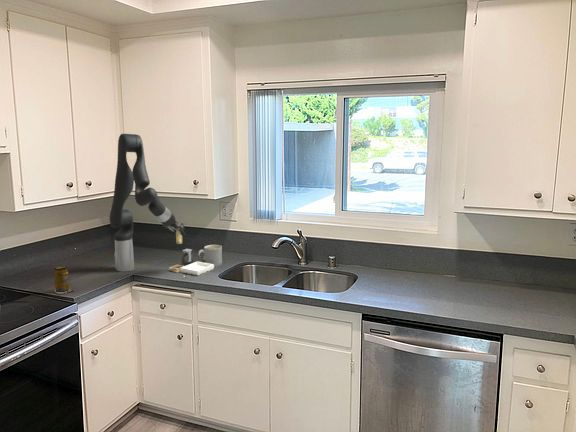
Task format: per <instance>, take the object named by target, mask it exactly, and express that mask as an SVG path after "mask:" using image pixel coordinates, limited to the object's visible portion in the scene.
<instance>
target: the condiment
mask: <svg viewBox="0 0 576 432" xmlns="http://www.w3.org/2000/svg"><path fill="white" fill-rule="evenodd" d="M53 277H54V287H55V289H54V290H56V292H65V291H68V290H69V289H70V280H69V279H70V278H69V272H68V266H66V265H58V266H55V267H54V273H53ZM68 292H69V291H68Z"/></svg>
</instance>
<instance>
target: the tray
mask: <svg viewBox="0 0 576 432" xmlns="http://www.w3.org/2000/svg"><path fill="white" fill-rule="evenodd" d="M214 269H215V266H214V264H209V263H205V262H204V261H197V260H196V261H195V262H194V261H193V263H192V264H189V265H187V266H184V267H181V268H180V272H179V273H181V274H186V273H187V274H188V275H191V274H193V276H196V275H198V276H200V274H201V275H203V274H205V273H208V272H210V271H212V270H214ZM207 271H208V272H207ZM202 273H203V274H202Z"/></svg>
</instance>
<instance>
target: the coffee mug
mask: <svg viewBox="0 0 576 432" xmlns="http://www.w3.org/2000/svg"><path fill="white" fill-rule="evenodd" d="M222 247H223V246H222V245H220V244H209V245H205V246H204V247H203V249H200V250H199V251H198V255H197V256H198V259H200V260H201V261H202V262H203V263H209V264H214V267H217V266H218V267H220V266H221V265H222V264H223V248H222ZM201 254H203V257H202V255H201Z"/></svg>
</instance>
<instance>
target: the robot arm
mask: <svg viewBox="0 0 576 432" xmlns="http://www.w3.org/2000/svg"><path fill="white" fill-rule="evenodd" d="M117 141H118V143H117V166H116V173H115V180H114V191H113V199H112V203H111V207H110V214H109V225H110V226H111V227H112V228H114V229H119V230H118V231H117V232H115V234H114V236H113V238H114V249H115V250H114V253H113V255H114V267H115V268H114V269H115V271H117V272H122V273H123V272H124V273H125V272H130V271H134V269H135V262H134V261H135V259H134V258H135V256H134V245H133V244H134V243H133V235H134V216H133V213H132V211H131V210H129V209H124V206H125V204H126V202H127V200H128V199H129V197H130V196H131V194H132V192H133V189H135V190H134V199H135V201H136V204H137V205H139V206H140V207H144V206H147V205H148V210H149V211H150V212H151V213H152V214H153V216H154V217H155V218H156V220H158V221H159V222H160V224H162V226H163V228H166V229H167V230H168V231H171V232H174V234H176V231H178V232H180V234H181V235H182V237H185V235H186V232H185V229H186V228H185V225H184V223H182V222H181V223H179V222H178V221H177V220H176V217H175V214H173V212H172V211H171V210H170V209H169V208H168V207H167V206H165V205H164V203H163V202H162V201H161V199H160V198H159V195H158V193H157V191H156V189H154V187H149V186H150V182H151V181H150V179H149V175H148V171H147V166H146V159H145V158H146V157H145V151H144V144H143V139H142V137H141V135H139V134H136V133H135V134H133V133H121V134H120V135H119V137H118V140H117ZM127 153H135V155H136V159H135V162H134V164H133V168H131V167H130V165H129V163H128V159H127V158H128V157H127ZM176 228H177V229H176ZM179 228H180V230H179Z"/></svg>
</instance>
